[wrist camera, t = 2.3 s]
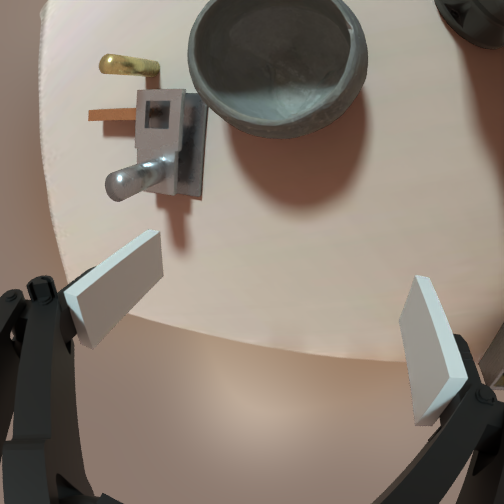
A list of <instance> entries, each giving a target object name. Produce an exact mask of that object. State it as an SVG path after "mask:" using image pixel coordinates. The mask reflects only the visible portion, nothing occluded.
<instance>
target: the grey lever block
mask: <svg viewBox="0 0 504 504" xmlns="http://www.w3.org/2000/svg"><path fill="white" fill-rule="evenodd" d="M207 108H208V106H207V105H206V103H205V102H204V101H203V100H202V99H201V97H200V96H199V94H198V93H186V89H151V90H137V105H136V108H116V109H97V110H89V119H88V121H102V120H136V124H135V148H137V164H136V165H133V166H130V167H127V168H124V169H121V170H118V171H116V172H113V173H110V174H109V175H108V176H107V178H106V181H105V189H106V192H107V194H108V196H109V197H110V198H111V199H112V200H114V201H117V202H120V201H123V200H125V199H127V198H129V197H131V196H133V195H135V194H137V193H139V192H141V191H148V192H154V193H161V194H167V195H173V196H174V195H175V194H177V193H179V194H185V195H191V196H197V197H199V196H201V191H202V174H203V158H204V144H205V131H206V119H207Z"/></svg>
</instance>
